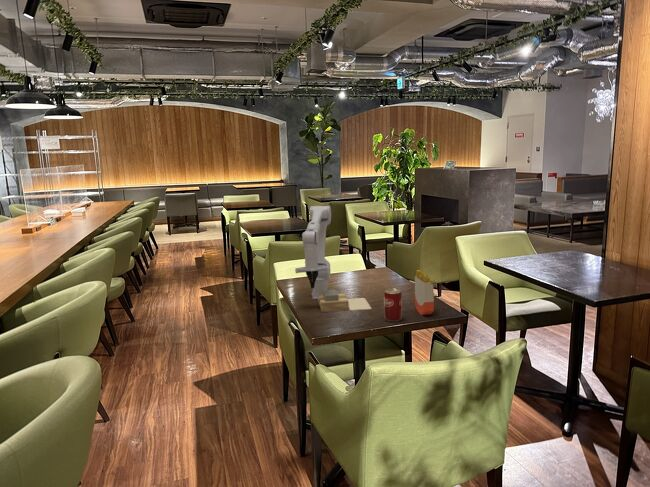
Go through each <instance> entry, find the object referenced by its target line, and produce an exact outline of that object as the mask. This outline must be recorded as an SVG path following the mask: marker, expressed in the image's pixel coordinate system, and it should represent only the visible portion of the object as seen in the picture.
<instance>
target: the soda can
mask: <svg viewBox="0 0 650 487" xmlns="http://www.w3.org/2000/svg"><path fill="white" fill-rule="evenodd" d="M383 311H384V312H383V318H384V320H385V321H387V322H391V323H394V322H399V321H401V320H402V318H403V292H402V290H400V289H396V288H387V289H385V290H384V291H383Z"/></svg>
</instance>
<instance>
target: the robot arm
mask: <svg viewBox="0 0 650 487" xmlns="http://www.w3.org/2000/svg"><path fill="white" fill-rule="evenodd" d="M308 214H309V218H310V221H309V222H308V224H307V227H306V230H305V231H304V232H302V236H301V237H302V245H303V250H304V266H302V267H295V268H294V270H295V274H299V273H305V275H306V276H307V279H308V281H309V283H310V289H312V292H311V298H312V300H318V294H323V290H329V289H328V285H329V284H328V279H330V277H331V263H330V261H329V260H327V259H326V238H327V228H328V225H330V224H331V221H332V208H331V206H330V205H311V206H310V207H309V212H308Z"/></svg>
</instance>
